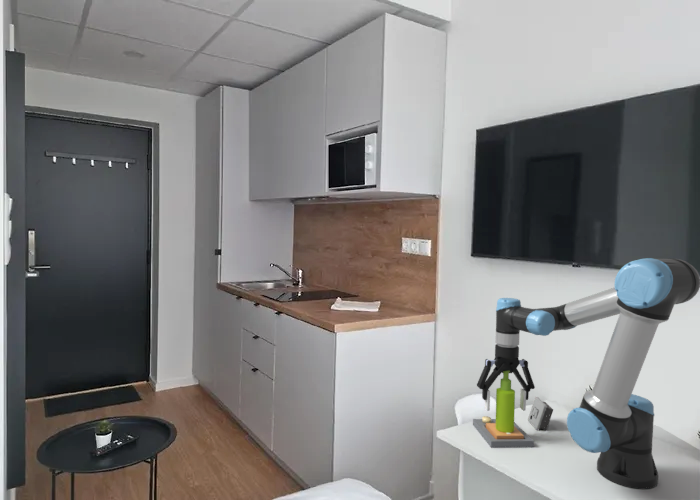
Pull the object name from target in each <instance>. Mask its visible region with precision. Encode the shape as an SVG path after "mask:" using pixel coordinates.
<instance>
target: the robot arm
mask: <svg viewBox="0 0 700 500" xmlns="http://www.w3.org/2000/svg"><path fill="white" fill-rule="evenodd" d="M699 290H700V274H699V272H698V270H697V269H696V268H695V266H693V265H692V264H690V263H689V262H688V261H685V260H682V259H679V258H670V257H669V258H653V257H647V258H640V259H637V260H636V259H635V260H632V261H629V262H628V263H625V264H624V265H623V266H622V267H621V268H620V269H619V271H618V272H617V274H616V275H615V279H614V287H613V288H609V289H606V290H604V291H601V292H596V293H595V294H592V295H588V296H584V297H581V298H579V299H576V300H574V301H571V302H570V301H569V302H568V303H565V304H561V305H559V306H553V307H540V308H530V307H524V306H522V304H521V300H520V299H518V298H515V297H514V298H513V297H501V298H499V299H497V301H496V309H495V316H496V317H495V320H496V321H495V343H496V344H495V345H494V346H495V347H494V359H488V358H486V359H485V361H484V367H483V370H482V371H481V373H480V376H479V378H478V380H477V383H476V387H478V388H479V389H480V390H482V391H481V392H482V395H481V399H482V400H483V401H484V407H483V408H484V409H485V410H486V411H487V412H490V409H491V406H490V405H491V404H490V403H491V391H490V390H489V389H490V388H491V387H492V385H493V384H494V382H495V381H496V380H497V378H498V377H499V376H501V374H503V371H510V372H509V374H513V375H514V376H515V378H516V380H517V381H518V383H520V385H521V387H522V388H520V391H519V392H520V395H519V396H520V397H519V409H521V410H522V411H524V412H526V409H527V401H528V400H529V395H530V394H529V392H531V390H534V389H535V388H536V386H535V384H534V381H533V379H532V376H531V371H530V369H529V362H528V360H526V359H524V358H521V359H519V355H520V354H519V353H520V347H519V345H520V331H521V332H526V333H530V334H532V335H534V336H543V337H546V336H549V335H550V334H551V333H552V332H554V331H569V330H572V329H574V328H576V327H577V326H580V325H584V324H588V323H591V322H595V321H599V320H603V319H606V318H610V317H612V316H617V315H618V318H617V320H616V323H615V326H614V329H613V332H612V335H611V337H610V341H609V343H608V346H607V348H606V351H605V353H604V356H603V360H602V362H601V365H600V367H599V368H600V369H599V370H598V374H597V377H596V378H595V382H594V385H593V387H592V389H591V390H590V389H589V390H587V391H585V392H584V394H583V396H582V399H581V403H580V405H579V406H578V407H575V408H573V409H572V410H570V412H569V413H568V415H567V418H566V427H567V430H568V432H569V433H570V437H571V438H572V440H573V441H574V442H575V443H576V445H577V446H578V447H580V448H581V449H582V450H584V451H586V452H588V453H592V454H597V453H600V454H599V457H598V458H597V461H596V470H597V472H598V473H599V474H600V475H601V476H602V477H604V478H605V479H606V480H608V481H610V482H613V483H615V484H618V485H621V486H624V487H628V488H633V489H641V490H643V489H646V490H647V489H652V488H654V487H657V485H658V484H659V473H658V469H657V467H656V464H655V460H654V456H653V452H652V451H653V439H654V438H653V437H654V421H655V420H654V418H655V412H654V411H655V410H654V404H653V402H652V401H651V400H649V399H647V398H646V397H642V396H640V395H636V394H633V392H634V389H635V387H636V384H637V381H638V379H639V376H640V373H641V370H642V368H643V366H644V363H645V360H646V358H647V355H648V353H649V350H650V347H651V345H652V342H653V339H654V337H655V334H656V332H657V329H658V327H659V325H660V324H662V323H665V322H667V321H669V319H670V317H671V314H672V311H673V309H674V306H675V305H680V304H684V303H687V302H689V301H690V300H692V299H693V298H694V297H695V296H696V295H697V294H698V292H699ZM493 365H494V366H495V367H494V369H493V370H492V372H491V374H490V371H491V369H492V368H493ZM519 365H520V367H521V370H522V372H523V375H524V378H525V380H526V381H525V380H524V378H523V376H522V375H521V373H520V372H519V370H518V369H517V368H518V367H519Z"/></svg>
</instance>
